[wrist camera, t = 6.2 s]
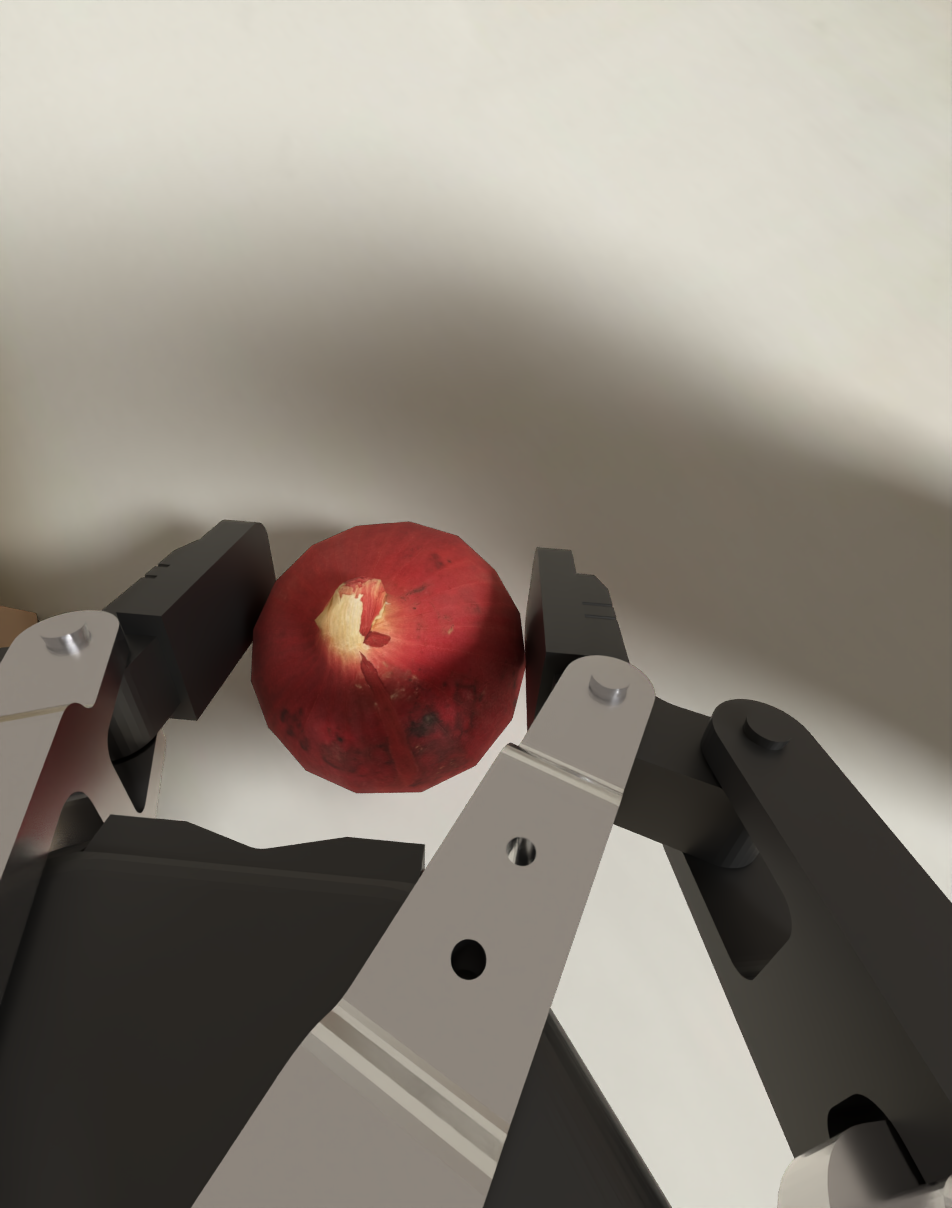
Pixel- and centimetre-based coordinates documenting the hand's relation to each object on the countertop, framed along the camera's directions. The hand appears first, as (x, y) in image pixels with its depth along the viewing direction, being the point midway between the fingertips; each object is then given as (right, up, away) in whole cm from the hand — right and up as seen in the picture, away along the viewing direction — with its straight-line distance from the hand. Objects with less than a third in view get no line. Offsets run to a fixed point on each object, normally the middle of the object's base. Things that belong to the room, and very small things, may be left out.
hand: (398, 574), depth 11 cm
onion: (0, -3, +4) cm, 5 cm away
